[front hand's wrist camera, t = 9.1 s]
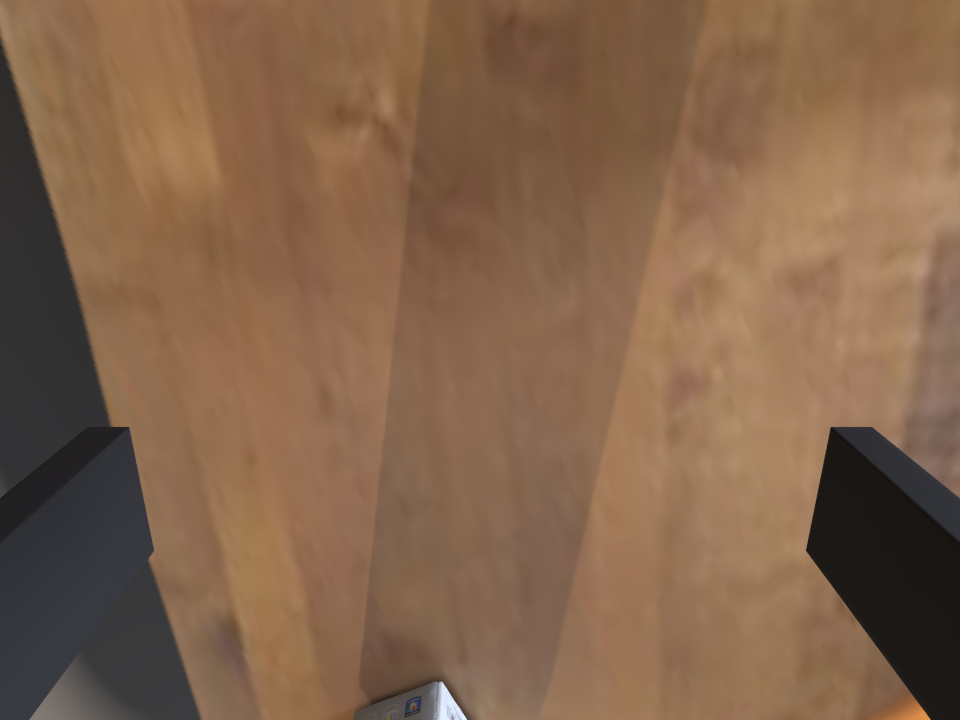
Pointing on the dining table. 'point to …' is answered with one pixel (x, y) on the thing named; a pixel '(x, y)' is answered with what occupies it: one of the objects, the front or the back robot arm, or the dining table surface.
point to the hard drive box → (415, 706)
